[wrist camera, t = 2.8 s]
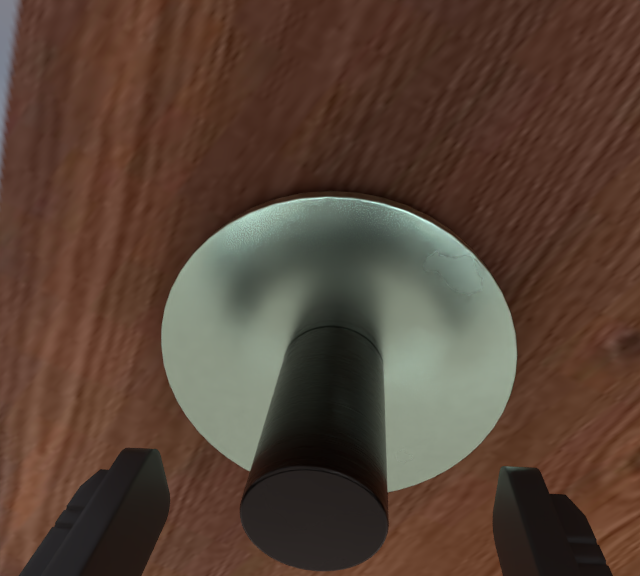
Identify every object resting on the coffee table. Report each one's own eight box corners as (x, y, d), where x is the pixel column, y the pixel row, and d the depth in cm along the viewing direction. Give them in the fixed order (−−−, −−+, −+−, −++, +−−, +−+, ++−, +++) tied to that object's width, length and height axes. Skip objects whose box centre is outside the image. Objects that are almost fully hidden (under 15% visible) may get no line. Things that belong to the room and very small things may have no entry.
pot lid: (199, 464, 19) (120, 652, 13) (145, 188, 15) (-20, 283, 8) (487, 478, 18) (545, 691, 12) (532, 182, 13) (665, 289, 7)
